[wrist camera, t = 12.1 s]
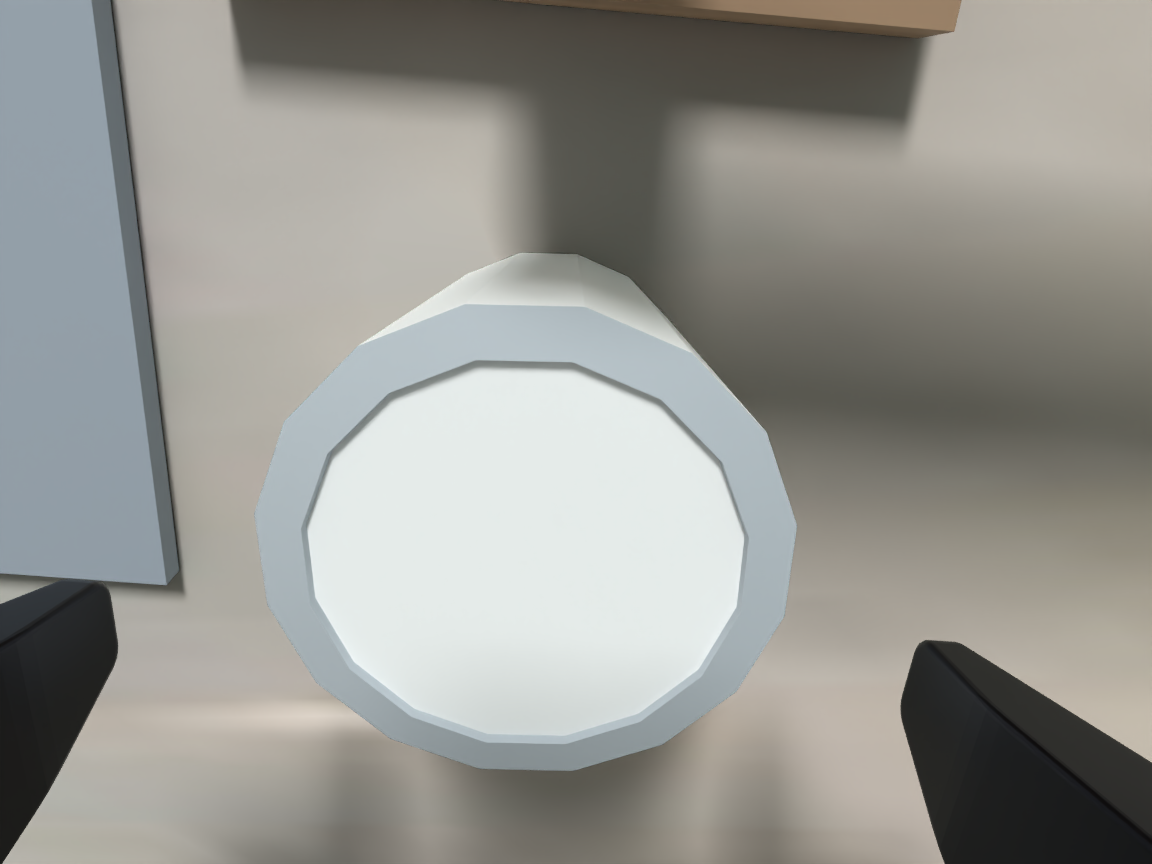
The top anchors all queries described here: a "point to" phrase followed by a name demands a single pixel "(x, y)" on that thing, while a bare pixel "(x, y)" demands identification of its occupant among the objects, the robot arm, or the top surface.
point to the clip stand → (799, 13)
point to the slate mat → (74, 312)
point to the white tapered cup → (527, 524)
